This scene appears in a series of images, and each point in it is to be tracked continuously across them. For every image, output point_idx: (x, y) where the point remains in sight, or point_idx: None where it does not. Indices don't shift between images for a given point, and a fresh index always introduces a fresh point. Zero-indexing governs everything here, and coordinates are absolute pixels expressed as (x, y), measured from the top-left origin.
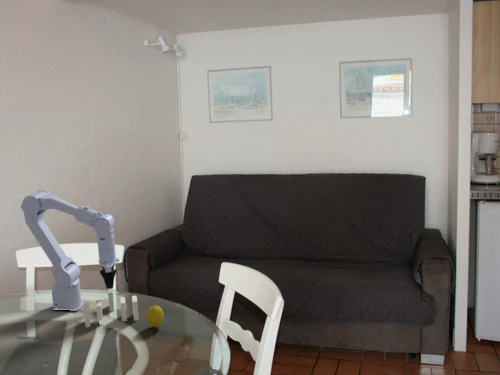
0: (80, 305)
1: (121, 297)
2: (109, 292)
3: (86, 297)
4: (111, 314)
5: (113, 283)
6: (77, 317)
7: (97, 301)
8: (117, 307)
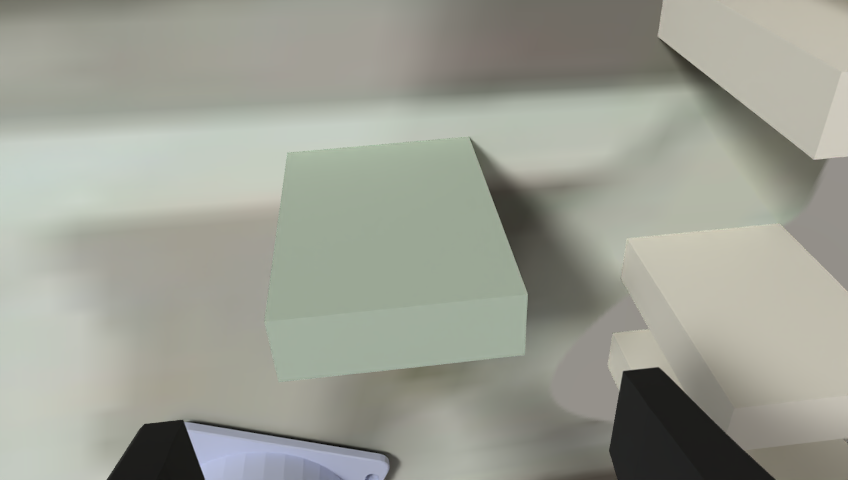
0: (288, 458)
1: (828, 134)
2: (494, 339)
3: (32, 433)
4: (558, 159)
5: (730, 441)
6: (504, 430)
7: (759, 437)
8: (370, 101)
